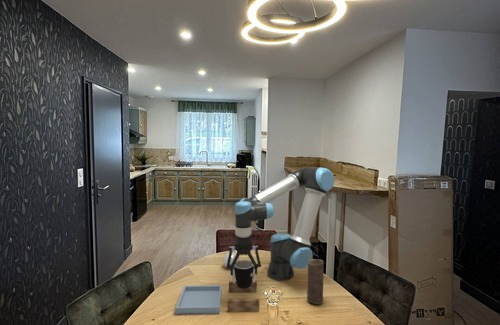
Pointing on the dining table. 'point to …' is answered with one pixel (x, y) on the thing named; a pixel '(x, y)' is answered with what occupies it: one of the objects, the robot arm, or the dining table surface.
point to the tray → (199, 300)
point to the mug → (243, 273)
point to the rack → (242, 304)
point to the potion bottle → (231, 258)
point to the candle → (315, 281)
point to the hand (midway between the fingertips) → (244, 281)
